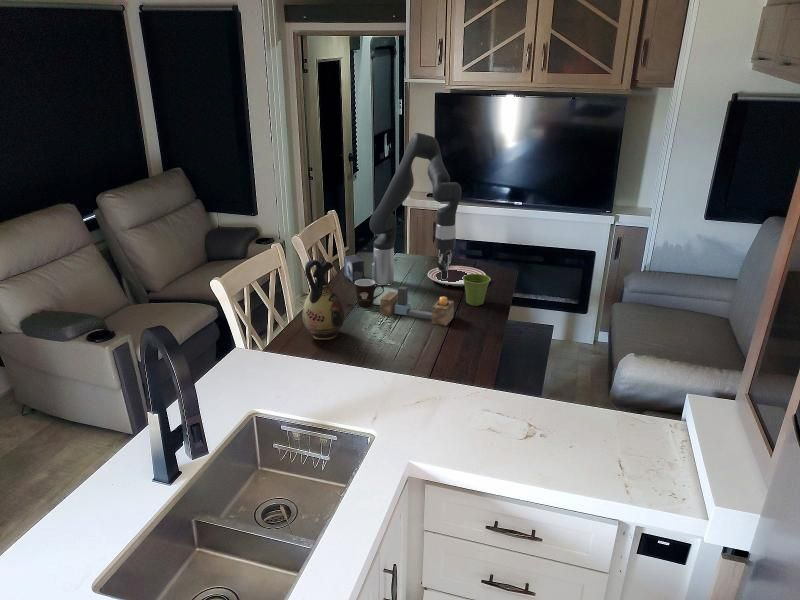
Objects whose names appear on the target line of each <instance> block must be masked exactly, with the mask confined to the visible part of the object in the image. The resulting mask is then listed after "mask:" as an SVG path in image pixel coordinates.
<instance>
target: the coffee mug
mask: <svg viewBox="0 0 800 600" xmlns="http://www.w3.org/2000/svg"><path fill="white" fill-rule="evenodd" d="M354 288H355V296H356V303H357V306H358V307H359V306H360V308H370V307H369V306H371V307H372V306H373V304H374V300H375V299H376V298H378V297H380V296H381V295H382V294H383V293H384V291H385V288H384V286H381V285H376V284H375V281H374V280H372V278H371V279H369V278H364V279H360V280H357V281H355V283H354ZM377 288H382V291H381V292H380V293H379V294H377V295H376V296H374V295H375V291H376V289H377Z"/></svg>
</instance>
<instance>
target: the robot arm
mask: <svg viewBox="0 0 800 600" xmlns="http://www.w3.org/2000/svg"><path fill="white" fill-rule="evenodd" d="M442 157H443V156H442V152H441V149H440V145H439V141H438V140H437V138H436V137H434V136H433V135H432V136H431V135H429V134H425V133H421V132H415V133H414V134H412V136H411V137H410V139H409V141H408V144H407V146H406V148H405V150H404V153H403V157H402V159H401V161H400V163H399V166H398V167H397V169H396V171H395V173H394V175H393V177H392V179H391V181H390V183H389V185H388V186H387V188H386V191H385V193H384V195H383V197H382V198H381V201H380V203H379V204H378V206H377V207H376V209H375V210H374V212H373V213H372V215H371V217H370V220H369V229H370V231H371V232H372V233H373V234H375V235H378V236H377V238H376V239H375V240H374V241H373V262H372V263H371V268H372V269H371V271H372V272H371V273H372V274H371V276H372V278H371V280H374V281H375V283H377V284H380V285H387V286H389V285H388V284H391V285H393V284H394V283H395V275H394V273H395V266H394V265H395V257H394V256H395V249H394V248H395V247H394V246H395V242H396V239H397V238H396V237H397V236H396V235H397V218H396V216H395V215H394V213H393V212H395V210H396V209H397V208H399V207H400V206H401V204H403V202H405V201H406V199H407V198H408V196H409V195H410V193H411V191H412V189H413V187H414V183H415V180H414V174H413V162H414V160H415V158H420V159H424V160H428V161H429V162H430V163H429V164H428V166H427V176H428V178H429V180H430V182H431V185H432V197H433V199H434V201H435V202H437V203H448V204H447V205H445V206H443V207H440V208H438V209H437V210H436V226H435V245H434V246H435V248H436V249H437V250H438V251H439V253H438V259H437V260H436V263H437V268H439V270H441V279H442V280H446V279H447V278H448V269H449V267H450V266H451V263H452V259H453V254H454V253H453V251H451V250H454V249H456V236H457V231H456V230H457V229H456V228H457V227H456V218H457V217H456V216H457V210H458V207H459V204H460V200H461V199H462V198H461V197H462V187H461V185H460V184H459V183H458V182H456V181H453V182H451V178H450V174H449V173H448V170H447V169H446V166H445V164H444V162H443V158H442ZM393 282H394V283H393ZM392 283H393V284H392Z"/></svg>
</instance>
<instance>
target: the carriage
mask: <svg viewBox="0 0 800 600" xmlns="http://www.w3.org/2000/svg"><path fill="white" fill-rule="evenodd" d="M408 289H409V288H408V286H399V287H398V288H397V293H398V303H397V304H396V305H395V313H396V314H395V315H399V314H402V316H405V315H407V310H408V309H411V307H412V305H411V304H412V303H411V302H409V301H408V293H409V292H408V291H409V290H408Z"/></svg>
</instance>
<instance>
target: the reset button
mask: <svg viewBox="0 0 800 600" xmlns="http://www.w3.org/2000/svg"><path fill="white" fill-rule="evenodd" d="M439 299H440V303H439V305H440V306H447V300H448V297H447V296H439Z"/></svg>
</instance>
